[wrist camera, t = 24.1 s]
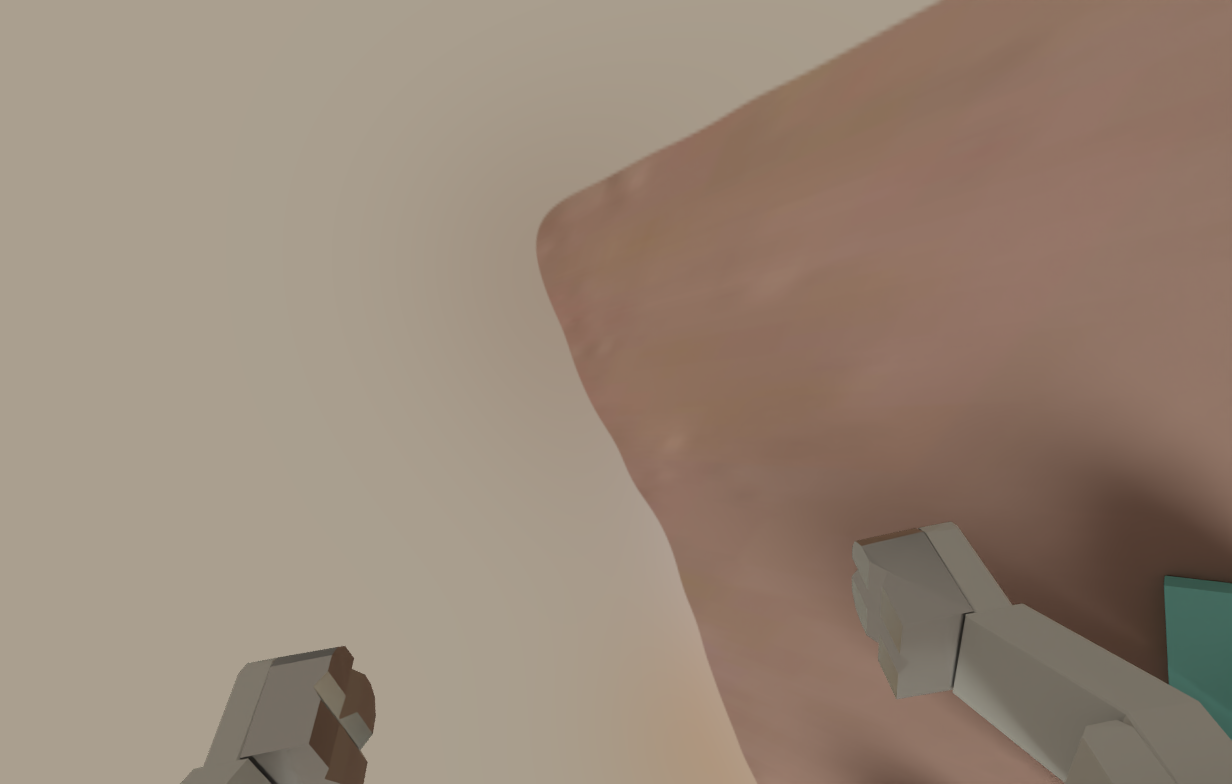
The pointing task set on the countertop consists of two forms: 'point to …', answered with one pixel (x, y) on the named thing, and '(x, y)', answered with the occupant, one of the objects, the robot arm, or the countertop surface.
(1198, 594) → the pad
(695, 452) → the countertop surface
